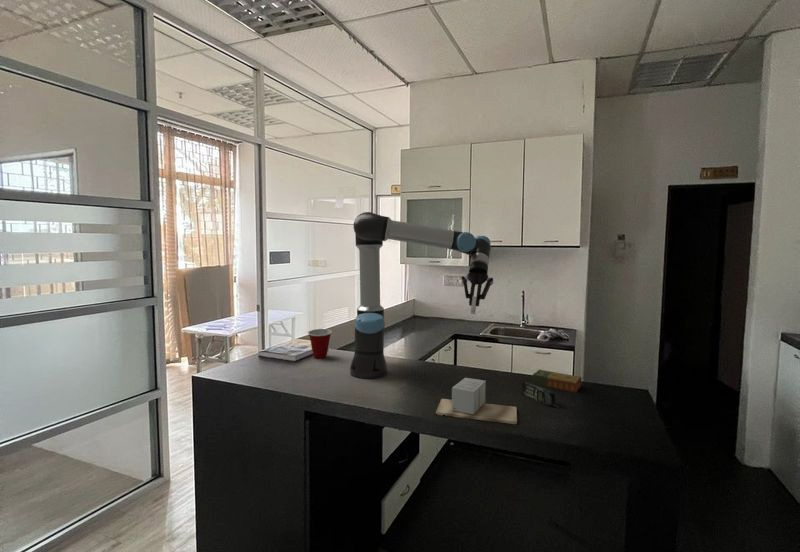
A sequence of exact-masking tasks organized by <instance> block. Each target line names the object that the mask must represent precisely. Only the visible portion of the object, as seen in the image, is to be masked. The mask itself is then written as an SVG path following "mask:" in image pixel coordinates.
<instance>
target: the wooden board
mask: <svg viewBox="0 0 800 552" xmlns="http://www.w3.org/2000/svg"><path fill="white" fill-rule="evenodd" d="M435 414H437V415H436V416H443V415H445V416H446V417H451V416H452V417H454V418H459V419H460V418H461V419H468V420H478V421H486V422H493V423H501V424H502V423H503V424H511V425H518V413H517V406H512V405H511V406H510V405H505V404H504V405H501V404H493V403H486V402H485V403H484V404H483V405H482V406H481V407H480V408H479V409H478V410H477V411H476V412H475V413H474V414H468V413H463V412H458V411H452V399H447V398H441V399H440V402H439V403H438V406H437V408H436V411H435ZM445 416H444V417H445Z"/></svg>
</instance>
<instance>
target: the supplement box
mask: <svg viewBox="0 0 800 552" xmlns="http://www.w3.org/2000/svg"><path fill="white" fill-rule="evenodd" d="M486 384H487V381H486V380H482V379H476V378H471V377H469V378H468V377H464V378H463V379H461V380H460V381H459V382H458V383H456V384H455V385H453V386H452V387H451V400H452V411H458V412H463V413H468V414H474V413H475V412H476V411H477V410H478V409H479V408H480V407H481V406H482V405H483V404H484V403H486V387H487V386H486Z"/></svg>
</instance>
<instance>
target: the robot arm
mask: <svg viewBox="0 0 800 552" xmlns="http://www.w3.org/2000/svg"><path fill="white" fill-rule="evenodd" d="M353 231H354V235H355V237H354V238H355V248H357V249H358V253H359V254H358V256H359V294H360V295H359V299H360V300H359V302H360V303H359V306H358V307H357V308H356V317H355V319H354V355H353V357H352V361H351V364H350V367H349V374H350V375H351V376H353V377H355V378H361V379H376V378H383V377H385V376H386V375H388V373H389V372H388V369H389V368H388V364H387V361H386V358H385V354H384V351H385V350H384V348H385V347H384V345H385V344H384V342H385V325H386V322H385V308H384V307H383V306H382V305H381V275H380V274H381V273H380V272H381V271H380V269H381V268H380V264H381V263H380V249H381V248H382V247H383V245H384V243H383V242H387V240H390V241H391V240H392V241H398V242H404V243H410V244H417V245H420V246H421V245H423V246H428V247H435V248H441V249H446V250H452V251H456V252H458V253H462V254H466V255H469V256H471V257H470V262H469V268H468V270H469V271H468V273H467V274H466V276H463V275H462V276H461V277H460V278H461V283H462V284H463V287H464V295H465V299H469V300H468V304H469V306H470V314H471V315H476V311H477V310H476V309H477V307H479V306H480V301H481V300H483V301H484V300H485V299H486V296H487V295H488V293H489V289H490V288H491V286H492V285H493V284H494V278H493V277H489V274H488V272H489V262H490V253H491V247H492V245H491V240H490V239H489V237H487V236H486V235H477V236H476V237H475V236H474V235H473V234H472V233H471V232H467V231H464V232H463V231H458V230H451V229H446V228H439V227H434V226H428V225H421V224H416V223H411V222H404V221H399V220H393V219H392V218H390V217H389V216H385V215H381V214H377V213H374V212H370V211H364V212H362V213H360V214H358V215H357V216H356V218H355V219H354V221H353ZM468 281H469V283H470V284H471V285H470V291H469V288H468ZM484 283H485V285H484V288H483V287H482V286H483V284H484ZM476 286H477V289H476ZM482 288H483V290H482ZM475 289H476V290H477V291H476V290H475ZM475 291H476V296H474V295H475Z"/></svg>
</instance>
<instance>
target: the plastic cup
mask: <svg viewBox="0 0 800 552" xmlns="http://www.w3.org/2000/svg"><path fill="white" fill-rule="evenodd" d="M332 333H333V331H332V330H331V329H328V328H316V329H310V330H309V331H307V334H308V337H309V339H310V340H309V341H310V345H311V351H312V356H313V358H314V359H325V358H327V356H328V350H329V345H330V338H331V335H332Z"/></svg>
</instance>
